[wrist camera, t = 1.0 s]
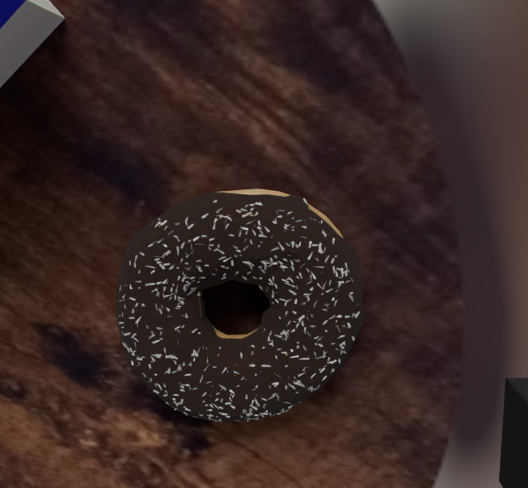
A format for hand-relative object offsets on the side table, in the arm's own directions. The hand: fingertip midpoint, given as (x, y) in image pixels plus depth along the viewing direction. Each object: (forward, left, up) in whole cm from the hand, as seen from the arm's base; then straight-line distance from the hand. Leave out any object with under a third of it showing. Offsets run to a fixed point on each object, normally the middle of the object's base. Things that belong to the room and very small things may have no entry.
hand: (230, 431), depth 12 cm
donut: (+1, -1, -13) cm, 13 cm away
